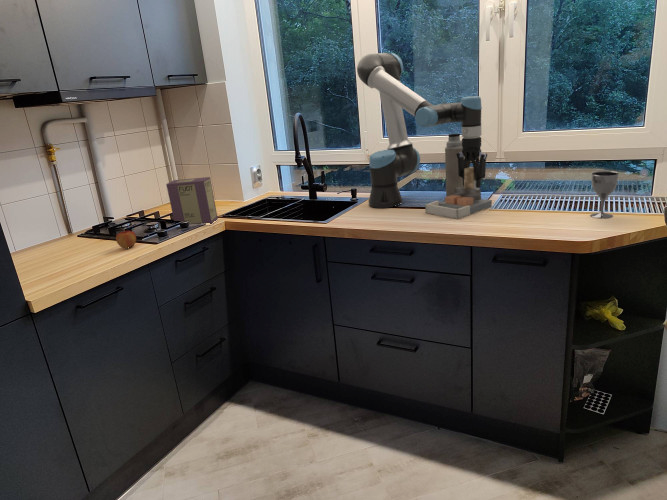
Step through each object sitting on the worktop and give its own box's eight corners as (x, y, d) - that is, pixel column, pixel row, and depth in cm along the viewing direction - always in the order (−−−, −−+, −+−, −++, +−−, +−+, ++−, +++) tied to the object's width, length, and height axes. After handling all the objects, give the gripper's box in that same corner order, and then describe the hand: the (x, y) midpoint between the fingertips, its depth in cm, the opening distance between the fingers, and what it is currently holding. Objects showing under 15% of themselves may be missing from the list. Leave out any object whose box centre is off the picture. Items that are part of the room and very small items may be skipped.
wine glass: (611, 212, 168) (615, 170, 163) (617, 218, 161) (621, 175, 156) (586, 213, 170) (589, 171, 166) (591, 219, 163) (594, 176, 158)
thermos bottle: (449, 195, 217) (448, 133, 208) (466, 195, 213) (466, 132, 204) (443, 199, 211) (442, 135, 202) (461, 199, 207) (460, 134, 198)
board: (437, 209, 196) (437, 203, 195) (459, 201, 204) (459, 195, 203) (469, 214, 184) (469, 208, 183) (491, 206, 191) (491, 200, 190)
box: (218, 219, 218) (210, 176, 211) (211, 225, 209) (203, 180, 203) (183, 222, 219) (174, 180, 213) (175, 228, 211) (166, 184, 204)
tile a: (445, 203, 194) (445, 197, 193) (452, 200, 196) (452, 194, 196) (453, 204, 190) (453, 198, 190) (461, 202, 193) (461, 196, 192)
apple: (128, 251, 183) (123, 231, 181) (114, 250, 186) (109, 231, 184) (142, 245, 190) (137, 226, 187) (128, 244, 192) (123, 226, 190)
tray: (425, 213, 192) (425, 204, 191) (437, 209, 196) (437, 200, 195) (457, 219, 180) (457, 209, 178) (469, 214, 184) (469, 205, 182)
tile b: (456, 204, 189) (456, 198, 188) (464, 202, 192) (464, 196, 191) (466, 206, 186) (466, 200, 185) (473, 203, 188) (473, 197, 187)
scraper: (454, 197, 198) (454, 168, 194) (463, 194, 201) (462, 166, 197) (478, 200, 189) (478, 170, 185) (487, 197, 192) (487, 168, 188)
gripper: (448, 138, 192) (449, 194, 200) (483, 138, 179) (483, 199, 186) (460, 135, 196) (460, 190, 204) (495, 136, 183) (495, 195, 190)
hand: (471, 194), depth 195 cm, fingers closed on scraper, 4 cm apart
